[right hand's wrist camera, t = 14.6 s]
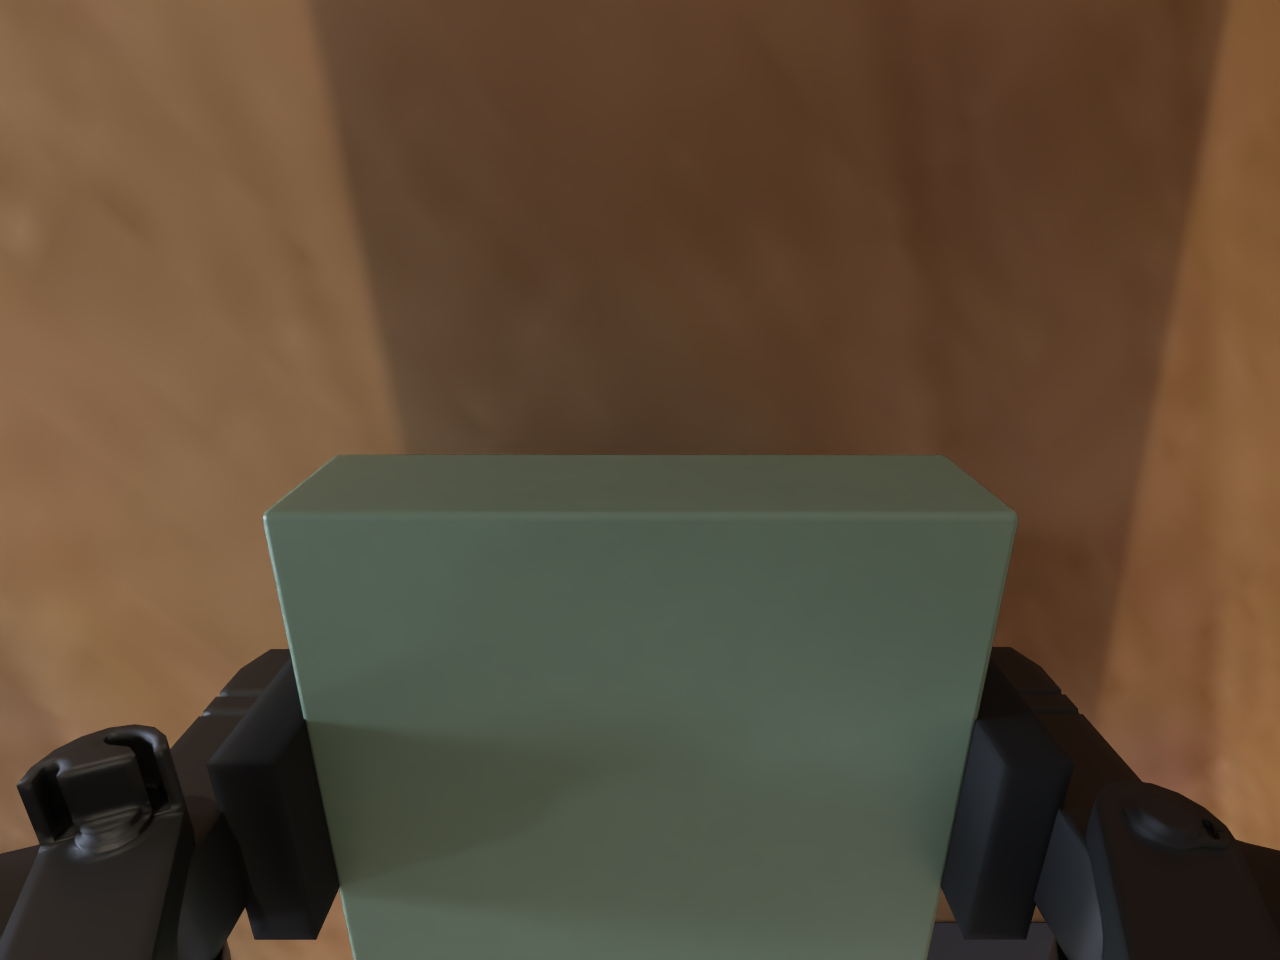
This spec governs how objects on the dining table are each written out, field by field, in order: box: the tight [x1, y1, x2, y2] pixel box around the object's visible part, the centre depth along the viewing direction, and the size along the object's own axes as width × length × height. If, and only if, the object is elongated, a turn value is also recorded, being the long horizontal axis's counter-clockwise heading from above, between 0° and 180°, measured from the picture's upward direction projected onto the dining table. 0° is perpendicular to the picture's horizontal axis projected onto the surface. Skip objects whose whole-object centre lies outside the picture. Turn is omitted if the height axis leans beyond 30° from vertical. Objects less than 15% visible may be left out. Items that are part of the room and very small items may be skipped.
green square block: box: [263, 455, 1018, 960], centre depth 11 cm, size 8×8×4 cm
